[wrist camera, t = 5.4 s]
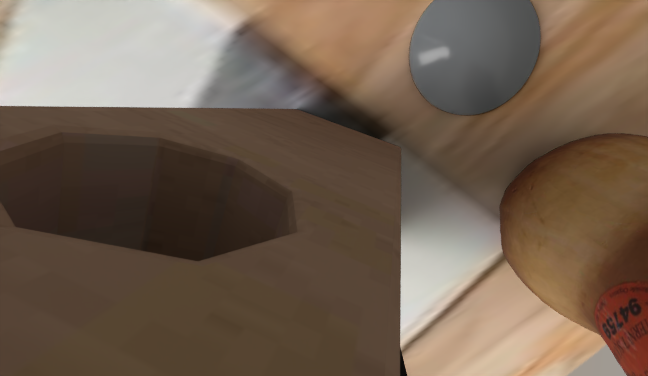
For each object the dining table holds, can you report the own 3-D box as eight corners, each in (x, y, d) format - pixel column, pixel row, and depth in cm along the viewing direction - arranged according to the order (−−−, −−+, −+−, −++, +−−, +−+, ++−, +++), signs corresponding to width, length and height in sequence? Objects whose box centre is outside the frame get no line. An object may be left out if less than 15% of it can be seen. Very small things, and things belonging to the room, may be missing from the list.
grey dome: (410, -15, 25) (411, -17, 24) (544, -25, 24) (549, -28, 23) (407, 117, 28) (409, 118, 27) (526, 111, 27) (531, 111, 26)
